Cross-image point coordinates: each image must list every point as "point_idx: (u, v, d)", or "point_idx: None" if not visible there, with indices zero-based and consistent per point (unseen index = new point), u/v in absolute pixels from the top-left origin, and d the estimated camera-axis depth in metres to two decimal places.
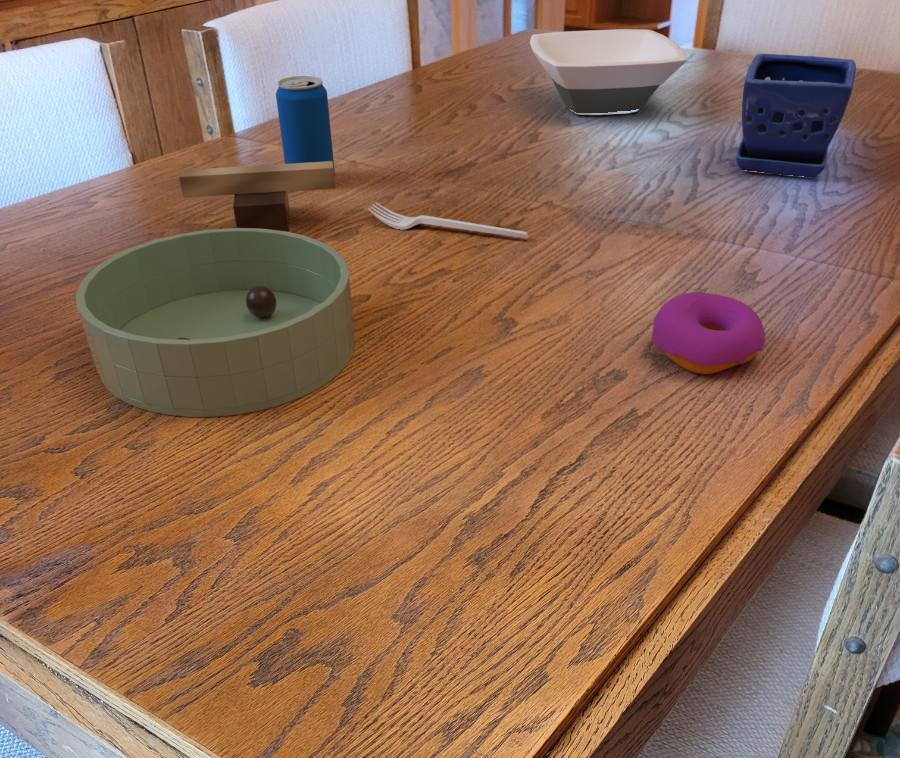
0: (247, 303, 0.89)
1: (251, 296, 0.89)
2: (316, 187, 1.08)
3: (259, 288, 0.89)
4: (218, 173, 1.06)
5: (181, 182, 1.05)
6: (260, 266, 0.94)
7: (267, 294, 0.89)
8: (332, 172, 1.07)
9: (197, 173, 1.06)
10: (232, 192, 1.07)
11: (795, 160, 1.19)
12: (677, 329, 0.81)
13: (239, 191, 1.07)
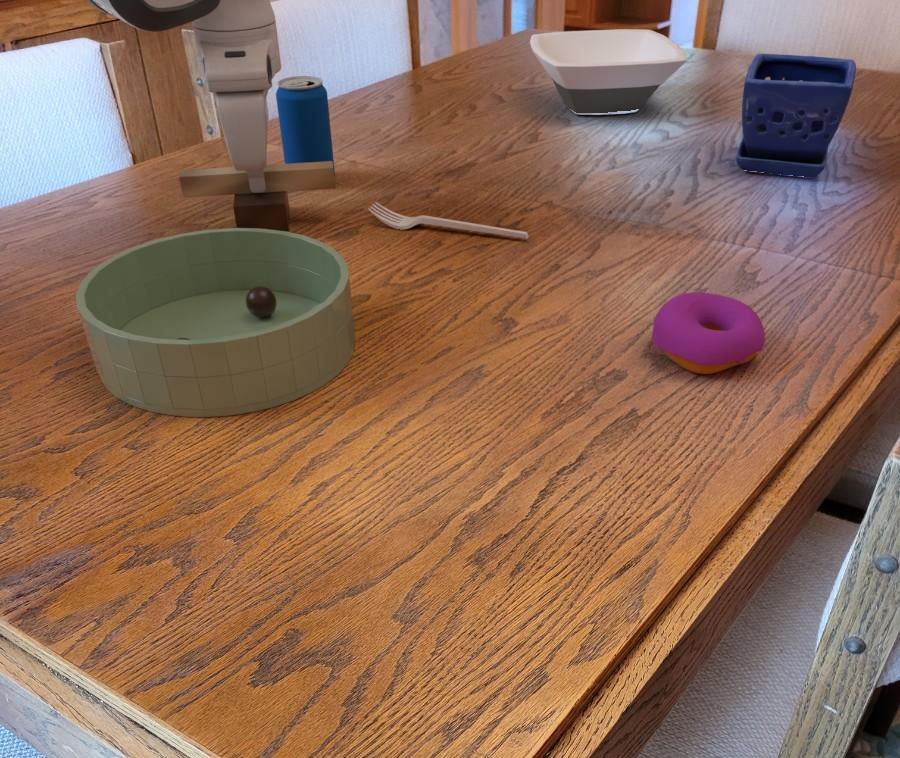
0: (247, 303, 0.89)
1: (251, 296, 0.89)
2: (316, 187, 1.08)
3: (259, 288, 0.89)
4: (218, 173, 1.06)
5: (181, 182, 1.05)
6: (260, 266, 0.94)
7: (267, 294, 0.89)
8: (332, 172, 1.07)
9: (197, 173, 1.06)
10: (232, 192, 1.07)
11: (795, 160, 1.19)
12: (677, 329, 0.81)
13: (239, 191, 1.07)
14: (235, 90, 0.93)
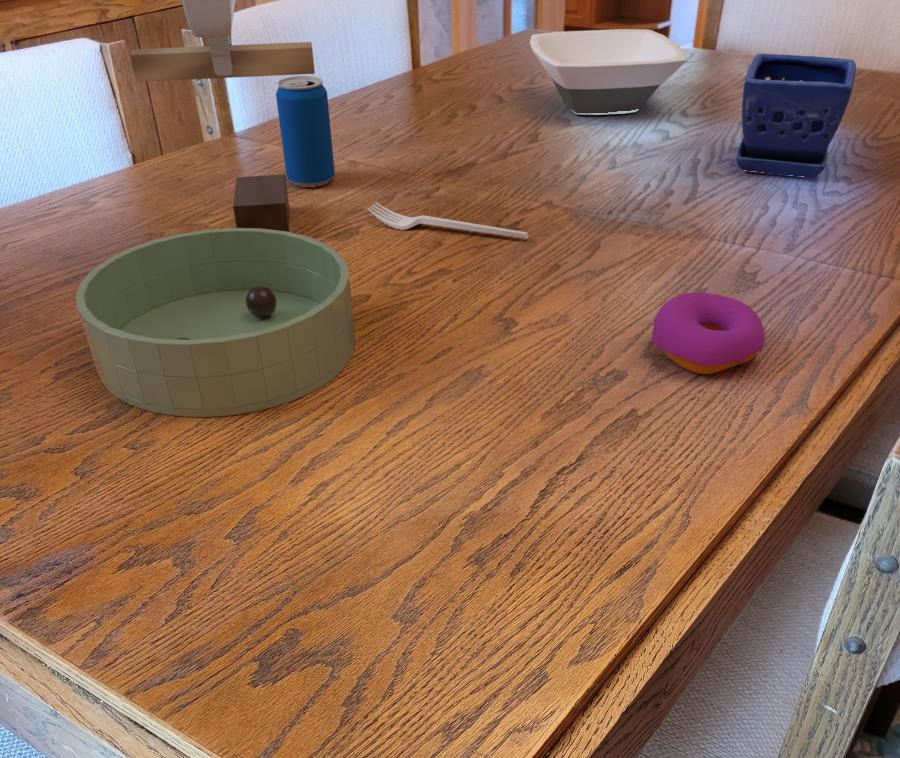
0: (247, 303, 0.89)
1: (251, 296, 0.89)
2: (293, 71, 0.92)
3: (259, 288, 0.89)
4: (177, 52, 0.90)
5: (133, 62, 0.89)
6: (260, 266, 0.94)
7: (267, 294, 0.89)
8: (311, 53, 0.91)
9: (152, 52, 0.90)
10: (194, 76, 0.91)
11: (795, 160, 1.19)
12: (677, 329, 0.81)
13: (202, 75, 0.91)
14: None
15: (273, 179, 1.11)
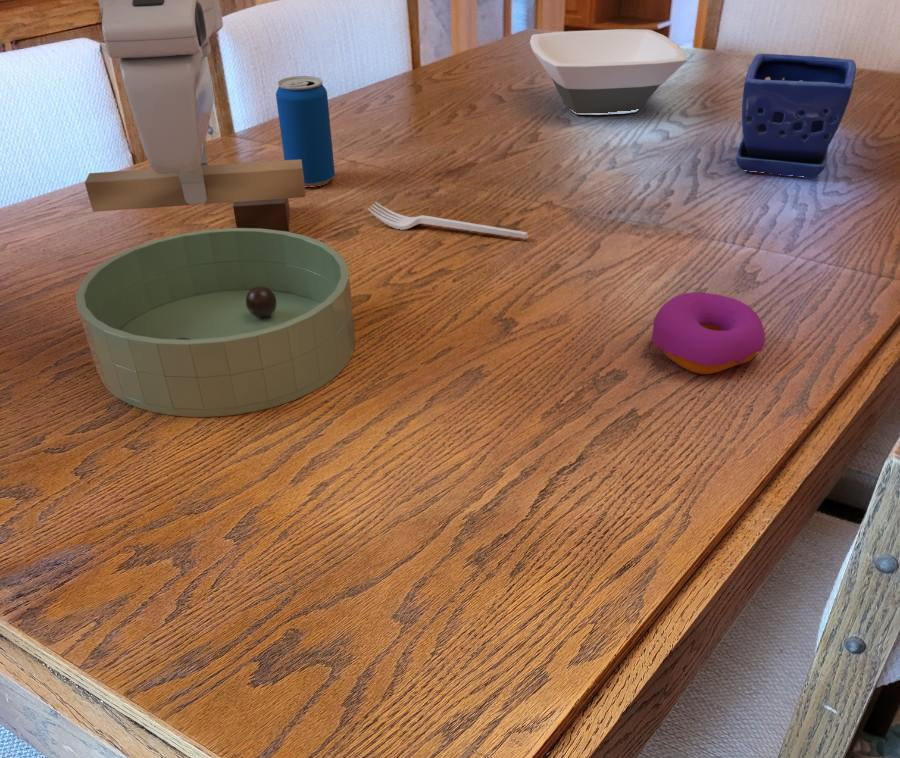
0: (247, 303, 0.89)
1: (251, 296, 0.89)
2: (280, 195, 0.77)
3: (259, 288, 0.89)
4: (141, 177, 0.75)
5: (88, 190, 0.75)
6: (260, 266, 0.94)
7: (267, 294, 0.89)
8: (300, 174, 0.77)
9: (111, 177, 0.75)
10: (162, 204, 0.77)
11: (795, 160, 1.19)
12: (677, 329, 0.81)
13: (171, 202, 0.77)
14: (148, 55, 0.63)
15: None
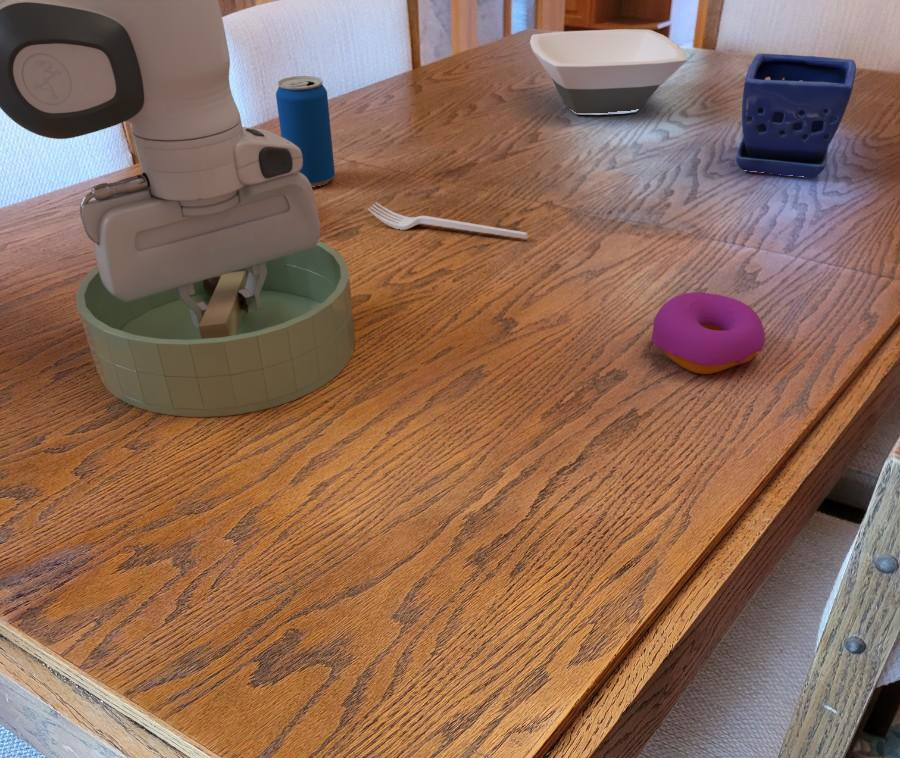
0: None
1: None
2: None
3: None
4: (227, 307, 0.80)
5: (228, 329, 0.77)
6: None
7: None
8: (246, 276, 0.92)
9: (220, 316, 0.78)
10: (238, 327, 0.83)
11: (795, 160, 1.19)
12: (677, 329, 0.81)
13: (239, 323, 0.83)
14: None
15: None
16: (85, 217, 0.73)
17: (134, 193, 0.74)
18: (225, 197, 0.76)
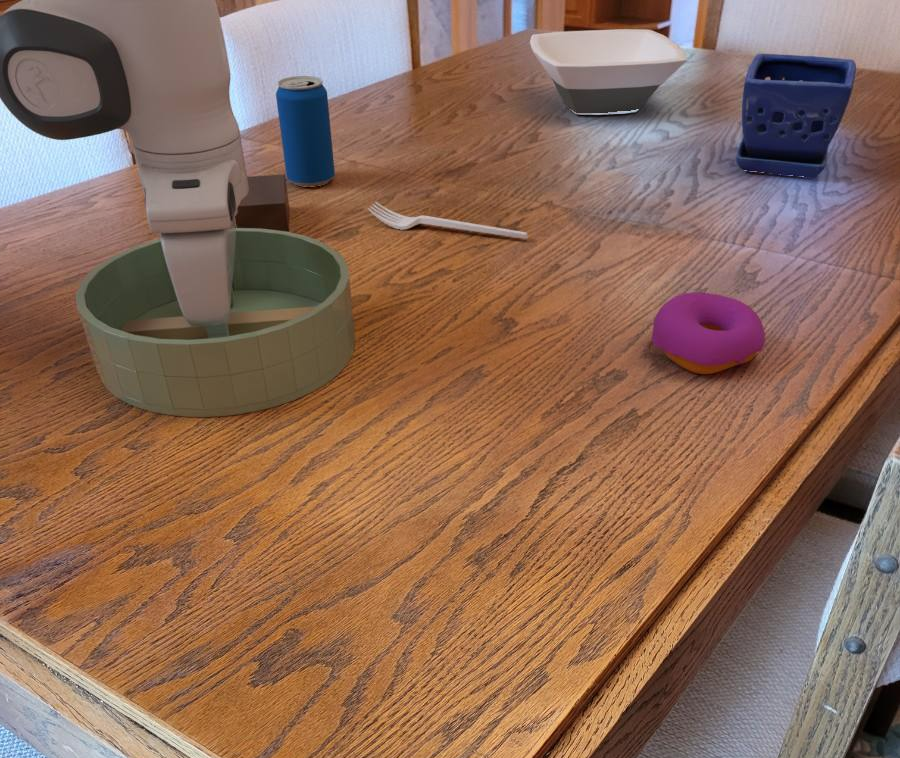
0: None
1: None
2: None
3: None
4: (173, 326, 0.84)
5: None
6: (260, 266, 0.94)
7: None
8: None
9: (147, 326, 0.84)
10: None
11: (795, 160, 1.19)
12: (677, 329, 0.81)
13: None
14: (186, 231, 0.71)
15: (273, 179, 1.11)
16: None
17: None
18: None
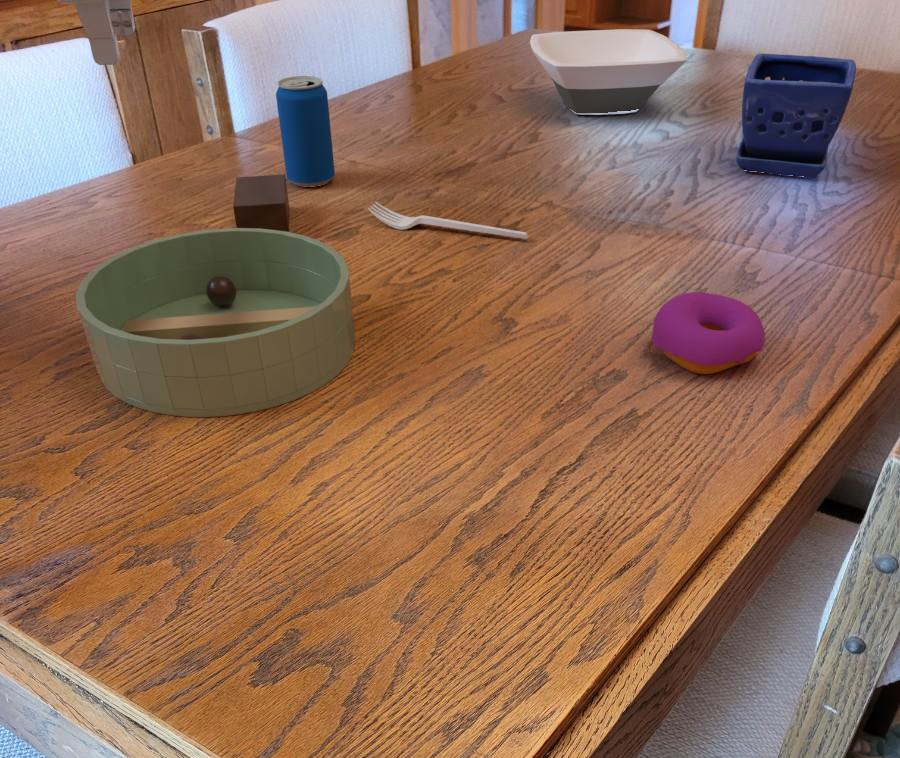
0: None
1: None
2: None
3: None
4: (173, 326, 0.84)
5: None
6: (260, 266, 0.94)
7: None
8: None
9: (147, 326, 0.84)
10: None
11: (795, 160, 1.19)
12: (677, 329, 0.81)
13: None
14: None
15: (273, 179, 1.11)
16: None
17: None
18: None
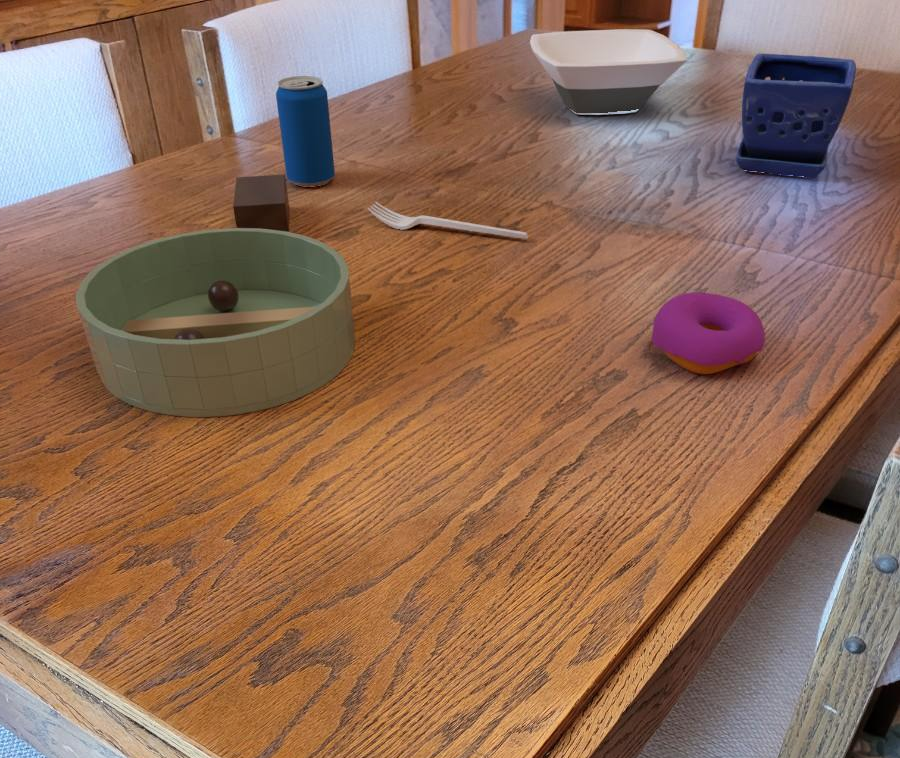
0: None
1: None
2: None
3: None
4: (173, 326, 0.84)
5: None
6: (260, 266, 0.94)
7: None
8: None
9: (147, 326, 0.84)
10: None
11: (795, 160, 1.19)
12: (677, 329, 0.81)
13: None
14: None
15: (273, 179, 1.11)
16: None
17: None
18: None
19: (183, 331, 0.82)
